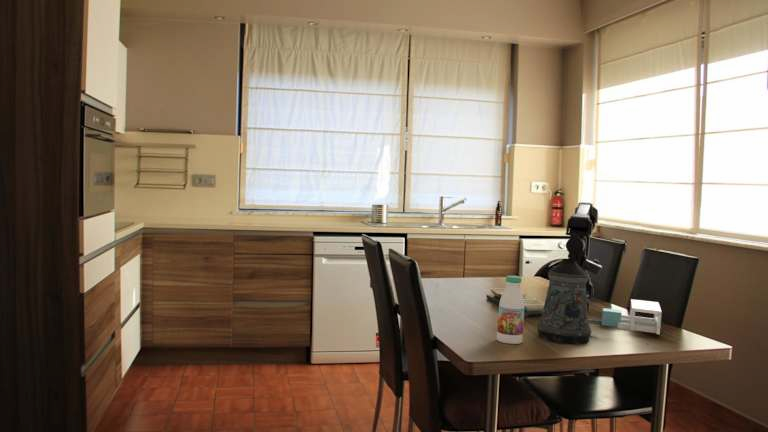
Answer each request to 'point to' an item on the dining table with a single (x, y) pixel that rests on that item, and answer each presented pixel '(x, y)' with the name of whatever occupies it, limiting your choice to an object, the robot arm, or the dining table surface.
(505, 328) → the milk bottle
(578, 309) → the beer stein
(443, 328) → the dining table surface
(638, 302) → the shelf
